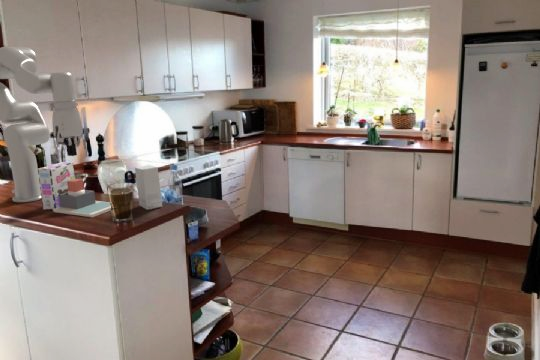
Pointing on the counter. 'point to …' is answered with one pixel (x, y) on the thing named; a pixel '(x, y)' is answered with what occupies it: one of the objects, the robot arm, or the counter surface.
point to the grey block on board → (82, 204)
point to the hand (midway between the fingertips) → (72, 155)
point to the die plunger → (75, 187)
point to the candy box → (54, 183)
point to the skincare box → (148, 187)
